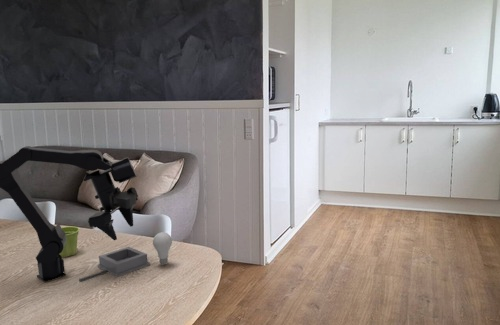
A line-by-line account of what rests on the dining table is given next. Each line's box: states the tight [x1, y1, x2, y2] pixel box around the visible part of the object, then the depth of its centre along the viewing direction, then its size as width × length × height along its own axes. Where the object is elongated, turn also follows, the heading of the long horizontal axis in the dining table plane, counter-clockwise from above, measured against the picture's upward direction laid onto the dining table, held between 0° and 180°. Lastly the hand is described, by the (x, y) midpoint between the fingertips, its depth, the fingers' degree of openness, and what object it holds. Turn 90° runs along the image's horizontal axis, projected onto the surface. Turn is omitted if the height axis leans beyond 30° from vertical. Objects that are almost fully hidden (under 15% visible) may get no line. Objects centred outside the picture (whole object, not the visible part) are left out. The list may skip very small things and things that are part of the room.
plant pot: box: [59, 226, 80, 258], centre depth 153 cm, size 9×9×9 cm
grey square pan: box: [78, 246, 151, 283], centre depth 138 cm, size 21×12×4 cm, turn 137°
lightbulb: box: [152, 231, 173, 266], centre depth 141 cm, size 6×6×11 cm
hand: (123, 232), depth 138 cm, fingers open, 9 cm apart
